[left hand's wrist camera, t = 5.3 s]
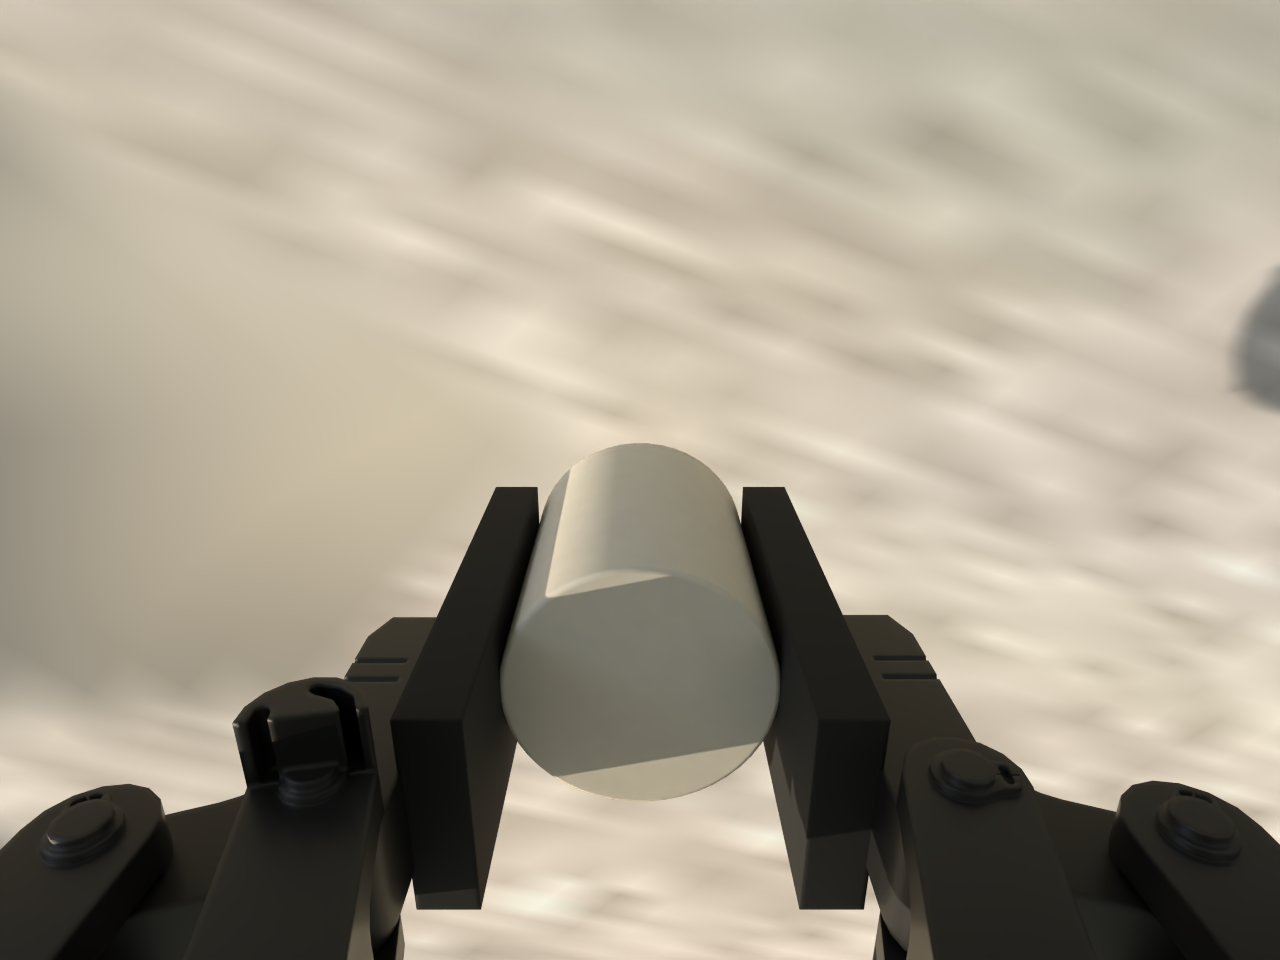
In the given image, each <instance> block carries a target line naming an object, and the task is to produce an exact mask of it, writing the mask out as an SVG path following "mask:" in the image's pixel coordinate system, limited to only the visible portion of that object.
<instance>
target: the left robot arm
mask: <svg viewBox="0 0 1280 960" xmlns="http://www.w3.org/2000/svg"><path fill="white" fill-rule="evenodd" d="M741 527H742V530H743V534H744V537H745V541H746V545H747V548H748V552H749V555H750V559H751V563H752V566H753V570H754V573H755V577H756V580H757V584H758V588H759V591H760V595H761V598H762V602H763V606H764V609H765V613H766V616H767V620H768V624H769V627H770V631H771V634H772V638H773V641H774V645H775V649H776V652H777V656H778V661H779V665H780V672H781V677H780V696H779V704H778V708H777V713H776V715H775V718H774V720H773V723H772V725H771V727H770V730H769V732H768V733H767V735H766V737H765V738H764V740H763V742H764V747H765V751H766V756H767V761H768V765H769V770H770V775H771V779H772V784H773V788H774V793H775V798H776V802H777V807H778V812H779V816H780V821H781V826H782V830H783V835H784V839H785V844H786V849H787V853H788V858H789V863H790V867H791V872H792V877H793V881H794V886H795V891H796V895H797V900H798V904H799V909H860V910H864V904H865V897H866V890H867V883H868V876H869V877H870V880H871V883H872V886H873V889H874V892H875V895H876V898H877V901H878V905H879V908H880V916H879V922H878V929H877V935H876V942H875V948H874V955H873V960H1280V844H1279V843H1278V842H1277V841H1276V840H1275V839H1274V838H1273V837H1272V836H1271V835H1270V834H1268V833H1267V832H1266V831H1265V830H1264V829H1263V828H1262V827H1261V826H1260V825H1259V824H1258V823H1256V822H1255V821H1254V820H1252V819H1251V818H1250V817H1249V816H1247V815H1246V814H1245V813H1244V812H1242V811H1241V810H1240V809H1238V808H1237V807H1235V806H1233V805H1231V804H1229V803H1227V802H1226V801H1224V800H1222V799H1220V798H1218V797H1216V796H1214V795H1212V794H1210V793H1208V792H1205V791H1202V790H1199V789H1195V788H1192V787H1189V786H1186V785H1183V784H1180V783H1171V782H1160V781H1149V782H1144V783H1140V784H1135V785H1132V786H1131V787H1130V788H1129V789H1128V790H1127V791H1126V792H1125V793H1124V794H1123V795H1121V798H1120V801H1119V805H1118V808H1117V812H1114V811H1109V810H1105V809H1101V808H1096V807H1092V806H1088V805H1083V804H1079V803H1075V802H1070V801H1066V800H1062V799H1058V798H1055V797H1052V796H1048V795H1045V794H1042V793H1039V792H1037V791H1035V790H1034V788H1033V786H1032V784H1031V783H1030V781H1029V780H1028V778H1027V777H1026V775H1025V774H1024V772H1023V770H1022V769H1021V768H1020V767H1018V766H1017V765H1016V764H1015V763H1013V762H1012V761H1011V760H1010V759H1009V758H1007V757H1006V756H1005V755H1004V754H1002V753H1000V752H998V751H996V750H994V749H992V748H989V747H987V746H985V745H983V744H981V743H978V742H976V741H975V739H974V737H973V736H972V734H971V732H970V730H969V729H968V727H967V725H966V724H965V722H964V720H963V719H962V717H961V715H960V713H959V712H958V710H957V708H956V707H955V705H954V703H953V702H952V700H951V698H950V696H949V695H948V693H947V691H946V690H945V688H944V686H943V685H942V683H941V681H940V680H939V679H937V674H936V673H935V671H934V669H933V668H932V666H931V664H930V663H929V661H926V656H925V654H924V652H923V651H922V649H921V647H920V646H919V644H918V642H917V640H916V639H915V637H914V635H913V634H912V633H911V632H909V631H908V630H907V629H905V628H904V627H903V626H901V625H900V624H899V623H898V622H896V621H895V620H894V619H892V618H891V617H890V616H888V615H843V614H842V612H841V610H840V608H839V606H838V603H837V601H836V599H835V597H834V595H833V593H832V590H831V588H830V586H829V584H828V582H827V579H826V577H825V575H824V573H823V571H822V568H821V566H820V564H819V562H818V560H817V557H816V555H815V553H814V551H813V549H812V546H811V544H810V542H809V540H808V538H807V536H806V533H805V531H804V529H803V527H802V525H801V522H800V520H799V518H798V516H797V514H796V511H795V509H794V507H793V505H792V503H791V500H790V498H789V496H788V494H787V492H786V489H785V487H743V498H742V517H741ZM538 528H539V507H538V488H537V487H496V488H495V491H494V493H493V495H492V497H491V499H490V502H489V504H488V506H487V508H486V510H485V513H484V515H483V517H482V519H481V521H480V524H479V526H478V528H477V530H476V532H475V534H474V537H473V539H472V541H471V543H470V545H469V548H468V550H467V552H466V554H465V556H464V559H463V561H462V563H461V565H460V567H459V570H458V572H457V574H456V576H455V578H454V581H453V583H452V585H451V587H450V589H449V591H448V594H447V596H446V598H445V600H444V602H443V605H442V607H441V609H440V611H439V613H438V616H437V617H393V618H392V619H390V620H389V621H388V622H387V623H385V624H384V625H383V626H381V627H380V628H379V629H377V630H376V631H375V632H373V633H372V634H371V635H370V636H368V638H367V639H366V641H365V643H364V644H363V646H362V648H361V650H360V651H359V653H358V655H357V656H356V658H355V663H352V665H351V667H350V668H349V670H348V672H347V674H346V675H345V677H344V680H343V679H340V678H329V677H313V678H309V679H304V680H299V681H294V682H290V683H287V684H284V685H282V686H280V687H277V688H275V689H272V690H270V691H268V692H265V693H263V694H262V695H261V696H259V697H258V698H256V699H255V700H254V701H252V702H251V703H249V704H248V705H247V706H245V707H244V708H243V710H242V711H241V712H240V714H239V715H238V716H237V718H236V719H235V720H234V722H233V723H232V724H233V728H234V733H235V737H236V741H237V745H238V750H239V754H240V758H241V763H242V767H243V771H244V776H245V780H246V784H247V789H246V792H245V794H244V795H242V796H239V797H236V798H233V799H230V800H226V801H223V802H220V803H215V804H211V805H207V806H202V807H198V808H194V809H189V810H185V811H181V812H176V813H172V814H168V815H165V813H164V810H163V806H162V803H161V799H160V798H159V797H158V796H157V795H156V794H155V793H154V792H153V791H151V790H150V789H149V788H146V787H141V786H136V785H132V784H123V785H113V786H103V787H100V788H96V789H93V790H90V791H87V792H84V793H81V794H78V795H74V796H72V797H70V798H68V799H66V800H64V801H62V802H61V803H59V804H57V805H55V806H53V807H51V808H49V809H47V810H45V811H44V812H43V813H41V814H40V815H39V816H37V817H36V818H35V819H34V820H32V821H31V822H30V823H29V824H27V825H26V826H25V827H24V828H22V829H21V830H20V831H19V832H18V833H17V834H16V835H15V836H14V837H13V838H12V839H11V840H10V841H9V842H8V843H7V844H6V845H5V846H4V847H3V848H2V849H1V850H0V960H403V958H404V947H405V943H404V936H403V929H402V922H401V916H400V913H401V910H402V907H403V904H404V901H405V898H406V895H407V892H408V888H409V885H410V882H411V879H412V880H413V887H414V894H415V901H416V908H417V910H481V907H482V902H483V897H484V893H485V888H486V884H487V879H488V874H489V870H490V865H491V860H492V856H493V851H494V846H495V842H496V837H497V832H498V828H499V823H500V819H501V814H502V809H503V805H504V800H505V795H506V791H507V786H508V781H509V777H510V772H511V768H512V763H513V758H514V754H515V749H516V744H517V740H516V738H515V736H514V735H513V733H512V731H511V729H510V727H509V725H508V722H507V720H506V717H505V715H504V712H503V708H502V702H501V691H500V665H501V661H502V657H503V653H504V649H505V645H506V642H507V638H508V635H509V631H510V628H511V624H512V621H513V617H514V613H515V610H516V606H517V603H518V599H519V596H520V592H521V588H522V585H523V581H524V578H525V574H526V571H527V567H528V564H529V560H530V556H531V553H532V549H533V546H534V542H535V539H536V535H537V532H538Z"/></svg>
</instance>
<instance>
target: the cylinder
mask: <svg viewBox="0 0 1280 960" xmlns="http://www.w3.org/2000/svg"><path fill="white" fill-rule="evenodd" d="M780 677H781V672H780V665H779V661H778V656H777V652H776V649H775V645H774V641H773V638H772V634H771V631H770V627H769V624H768V620H767V616H766V613H765V609H764V606H763V602H762V598H761V595H760V591H759V588H758V584H757V580H756V577H755V573H754V570H753V566H752V563H751V559H750V555H749V552H748V548H747V545H746V541H745V537H744V534H743V530H742V527H741V523H740V519H739V516H738V512H737V509H736V506H735V504H734V501H733V499H732V497H731V495H730V493H729V491H728V490H727V488H726V486H725V485H724V484H723V482H722V481H721V480H720V479H719V477H718V476H717V475H716V474H715V473H714V472H713V471H712V470H711V469H710V468H708V467H707V466H706V465H704V464H703V463H702V462H700V461H699V460H697V459H696V458H694V457H692V456H690V455H688V454H687V453H684V452H682V451H679V450H677V449H674V448H670V447H666V446H662V445H656V444H648V443H633V444H625V445H618V446H614V447H610V448H607V449H604V450H601V451H599V452H596V453H594V454H592V455H590V456H588V457H586V458H585V459H583V460H581V461H580V462H579V463H577V464H576V465H575V466H573V467H572V468H571V469H570V470H569V471H568V472H567V473H566V474H565V475H563V477H562V478H561V479H560V480H559V482H558V483H557V484H556V485H555V487H554V489H553V490H552V492H551V494H550V495H549V497H548V500H547V502H546V505H545V507H544V510H543V514H542V517H541V521H540V524H539V528H538V532H537V535H536V539H535V542H534V546H533V549H532V553H531V556H530V560H529V564H528V567H527V571H526V574H525V578H524V581H523V585H522V588H521V592H520V596H519V599H518V603H517V606H516V610H515V613H514V617H513V621H512V624H511V628H510V631H509V635H508V638H507V642H506V645H505V649H504V653H503V657H502V661H501V665H500V691H501V702H502V708H503V712H504V715H505V717H506V720H507V722H508V725H509V727H510V729H511V731H512V733H513V735H514V736H515V738H516V740H517V741H518V743H519V744H520V746H521V747H522V748H523V749H524V751H525V752H526V753H527V754H528V755H529V756H530V757H531V758H532V759H533V760H534V761H535V762H536V763H537V764H538V765H539V766H540V767H541V768H543V769H544V770H545V771H547V772H548V773H549V774H551V775H552V776H554V777H555V778H557V779H559V780H560V781H562V782H564V783H565V784H567V785H570V786H572V787H574V788H576V789H579V790H581V791H584V792H587V793H590V794H593V795H596V796H600V797H605V798H610V799H615V800H625V801H655V800H665V799H670V798H675V797H680V796H684V795H687V794H690V793H693V792H697V791H699V790H701V789H704V788H706V787H708V786H711V785H713V784H715V783H716V782H718V781H720V780H722V779H723V778H725V777H727V776H728V775H730V774H731V773H732V772H734V771H735V770H736V769H738V768H739V767H740V766H741V765H742V764H743V763H744V762H745V761H746V760H748V759H749V758H750V757H751V756H752V755H753V753H754V752H755V751H756V750H757V748H758V747H759V746H760V745H761V743H762V742H763V740H764V738H765V737H766V735H767V733H768V732H769V730H770V727H771V725H772V723H773V720H774V718H775V715H776V713H777V708H778V704H779V696H780Z"/></svg>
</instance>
